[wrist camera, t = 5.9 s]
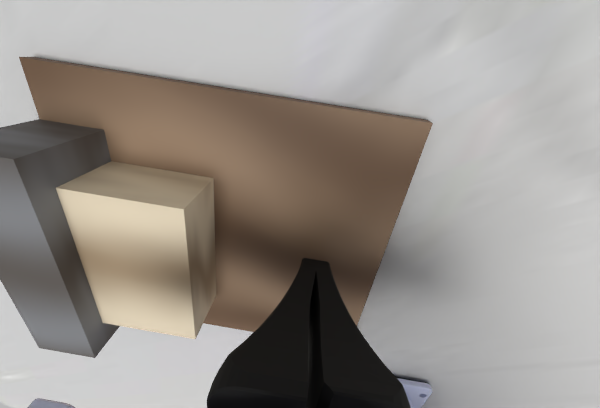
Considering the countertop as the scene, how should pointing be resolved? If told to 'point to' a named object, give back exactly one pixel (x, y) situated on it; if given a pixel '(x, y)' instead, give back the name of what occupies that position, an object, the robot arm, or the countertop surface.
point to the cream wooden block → (145, 245)
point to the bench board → (209, 163)
